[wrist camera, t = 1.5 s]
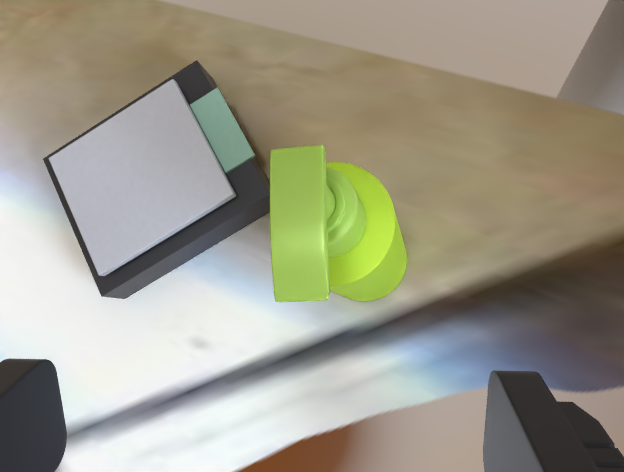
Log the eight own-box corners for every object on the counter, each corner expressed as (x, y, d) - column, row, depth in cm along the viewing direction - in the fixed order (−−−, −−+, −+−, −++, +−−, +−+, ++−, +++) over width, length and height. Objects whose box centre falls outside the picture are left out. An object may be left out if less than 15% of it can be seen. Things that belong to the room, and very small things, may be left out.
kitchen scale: (216, 75, 43) (195, 49, 39) (286, 201, 40) (270, 187, 36) (67, 169, 44) (32, 154, 40) (124, 299, 41) (91, 295, 37)
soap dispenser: (324, 318, 38) (213, 303, 18) (321, 220, 39) (214, 111, 20) (410, 315, 36) (388, 296, 17) (404, 214, 38) (377, 92, 18)
